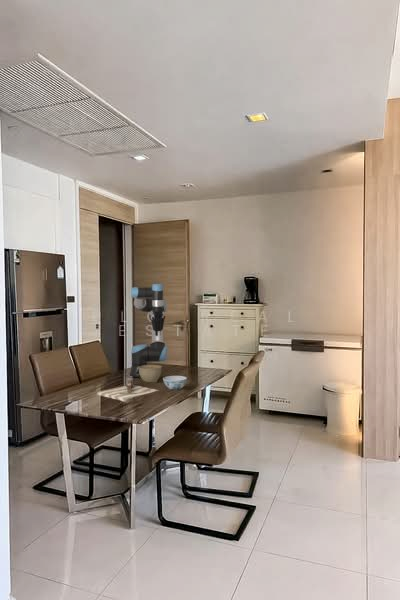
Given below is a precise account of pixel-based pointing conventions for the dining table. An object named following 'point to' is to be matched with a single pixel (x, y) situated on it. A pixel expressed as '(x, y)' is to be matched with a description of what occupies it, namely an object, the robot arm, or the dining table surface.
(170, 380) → the chinaware
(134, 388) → the gauge board
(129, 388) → the gauge needle
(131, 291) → the robot arm
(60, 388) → the dining table surface
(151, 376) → the planter bowl
